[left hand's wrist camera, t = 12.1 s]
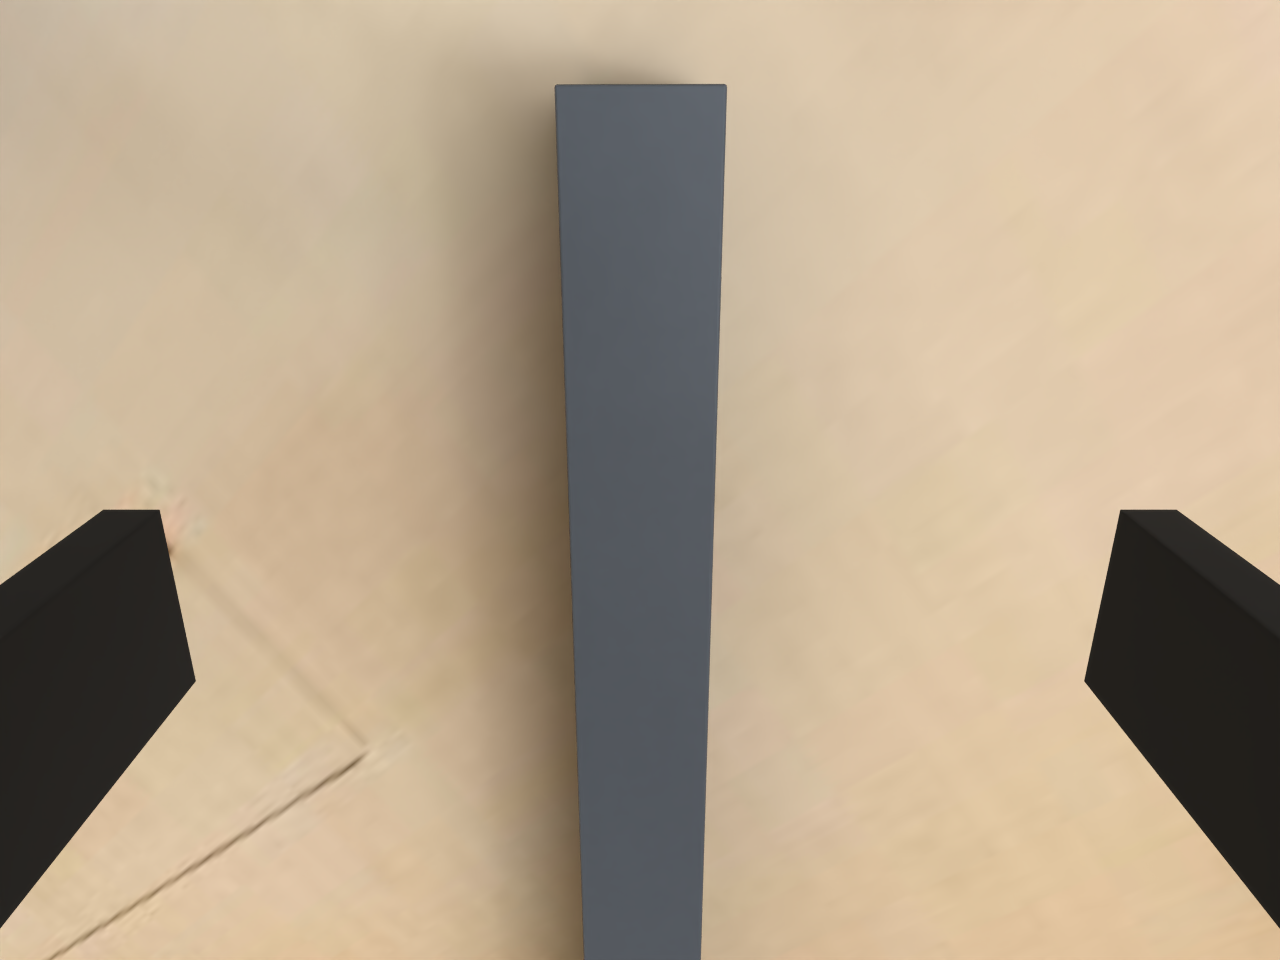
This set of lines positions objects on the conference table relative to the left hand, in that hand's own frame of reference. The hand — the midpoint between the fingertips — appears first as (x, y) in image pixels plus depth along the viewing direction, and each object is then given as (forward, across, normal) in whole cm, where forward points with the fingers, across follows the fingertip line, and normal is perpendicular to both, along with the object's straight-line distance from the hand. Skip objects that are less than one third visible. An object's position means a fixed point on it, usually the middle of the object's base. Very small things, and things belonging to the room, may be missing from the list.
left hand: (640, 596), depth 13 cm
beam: (+26, 0, -24) cm, 35 cm away
